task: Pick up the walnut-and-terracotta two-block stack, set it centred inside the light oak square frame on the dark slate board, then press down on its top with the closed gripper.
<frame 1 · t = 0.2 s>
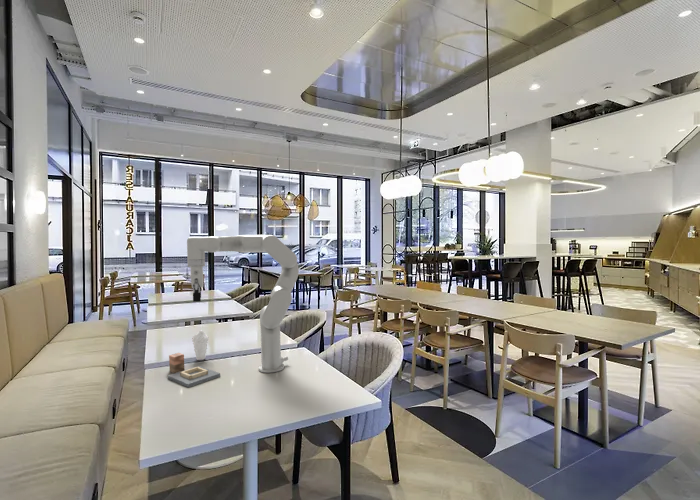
hand: (197, 299, 178), 37 cm above the table, tool pointing down, fingers open, 9 cm apart
block stack: (177, 370, 189), on the table
slate board: (194, 377, 179), on the table
soft serve ice cream cone: (201, 359, 207), on the table
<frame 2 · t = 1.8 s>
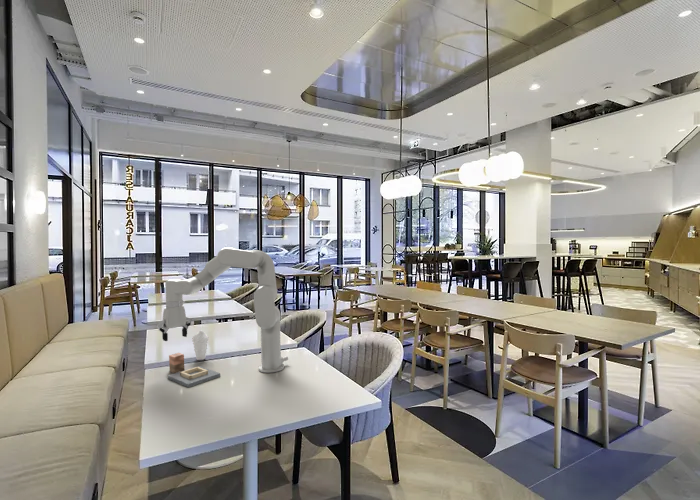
hand: (175, 338, 188), 16 cm above the table, tool pointing down, fingers open, 9 cm apart
nothing on the table moved.
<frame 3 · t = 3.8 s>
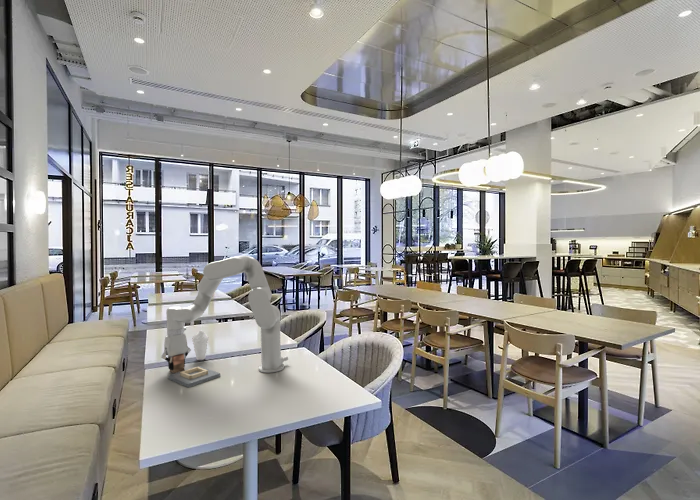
hand: (176, 367, 189), 1 cm above the table, tool pointing down, fingers closed on block stack, 5 cm apart
block stack: (177, 370, 189), on the table, touching gripper
everything else where it was.
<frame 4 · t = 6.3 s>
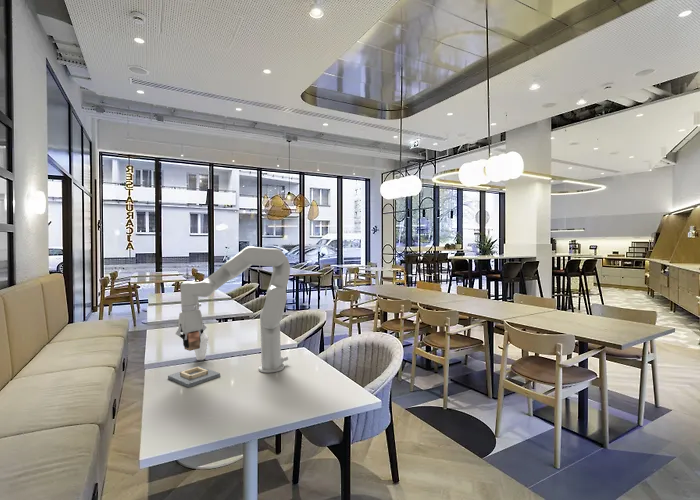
hand: (192, 345, 179), 15 cm above the table, tool pointing down, fingers closed on block stack, 5 cm apart
block stack: (192, 348, 179), point 13 cm above the table, touching gripper
everything else where it was.
when the fingers open (4 cm above the table, at t = 9.0 s): block stack stays where it is, resting on slate board.
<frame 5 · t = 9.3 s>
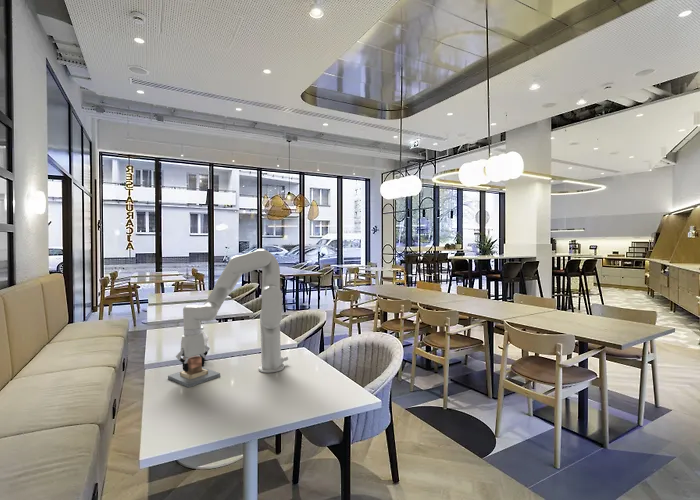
hand: (193, 368, 179), 4 cm above the table, tool pointing down, fingers open, 7 cm apart
block stack: (194, 374, 179), point 1 cm above the table, touching slate board
everything else where it was.
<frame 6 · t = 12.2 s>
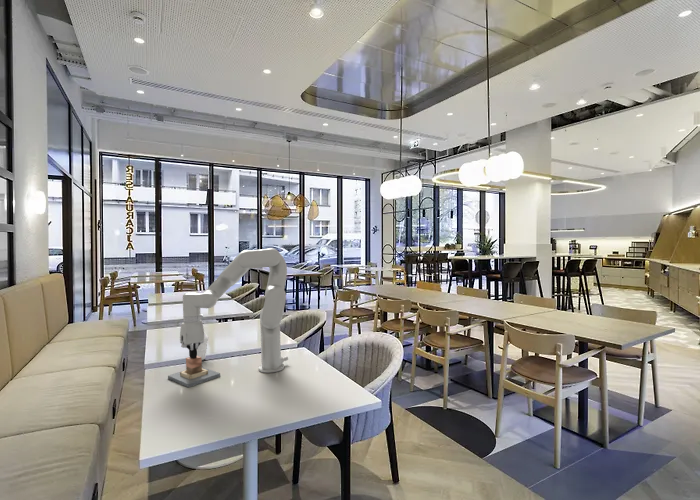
hand: (193, 357, 179), 10 cm above the table, tool pointing down, fingers closed
block stack: (194, 374, 179), point 1 cm above the table, touching gripper, slate board
everything else where it was.
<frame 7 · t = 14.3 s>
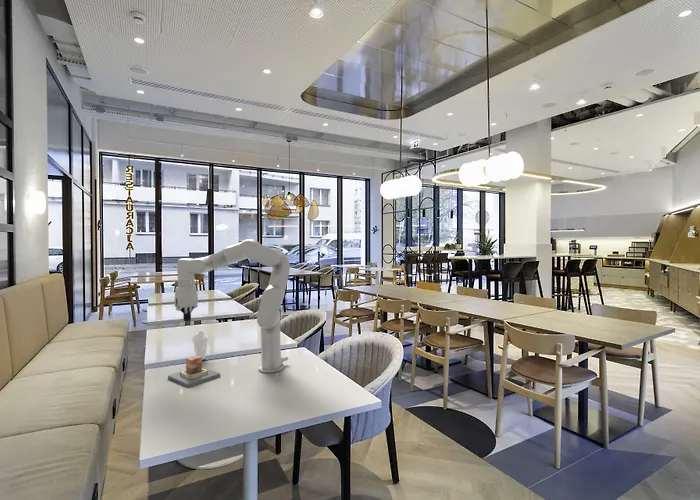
hand: (187, 320, 186), 25 cm above the table, tool pointing down, fingers closed
block stack: (194, 374, 179), point 1 cm above the table, touching slate board
everything else where it was.
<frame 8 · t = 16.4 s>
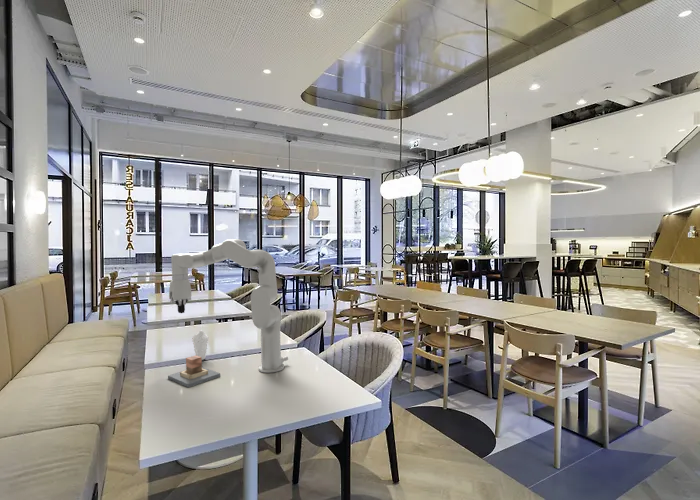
hand: (181, 312, 198), 27 cm above the table, tool pointing down, fingers closed
nothing on the table moved.
at the end: block stack 0.0 cm off-centre on the slate board, point 1.5 cm above the slate board's base; block stack tilted 0°; the gripper is holding nothing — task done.
